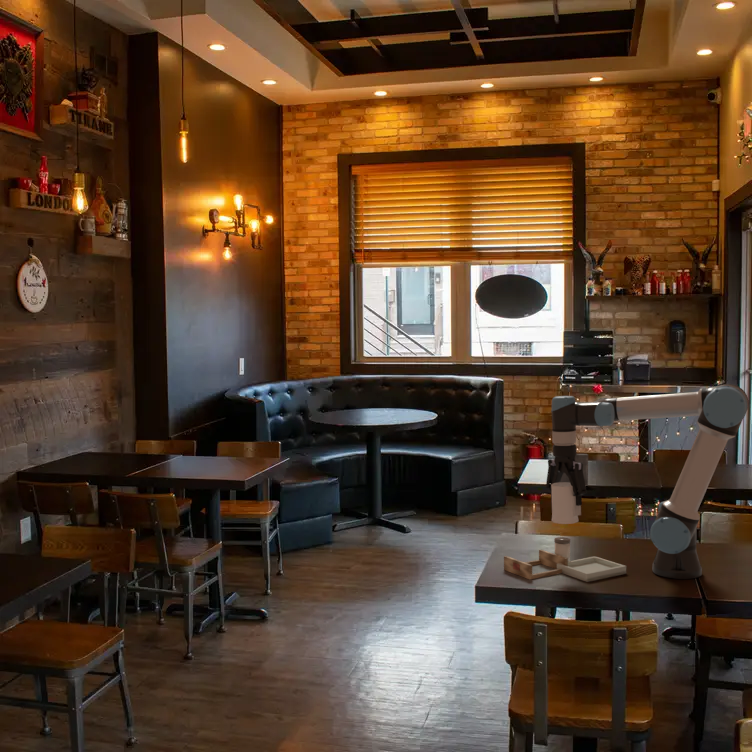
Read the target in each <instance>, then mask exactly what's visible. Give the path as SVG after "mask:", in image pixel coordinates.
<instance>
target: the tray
mask: <svg viewBox="0 0 752 752" xmlns="http://www.w3.org/2000/svg"><path fill="white" fill-rule="evenodd" d="M557 569H562V573H561V574H563V575H567V576H570V577H572V578H575V579H578V580H580V581H583V582H586V583H588V582H593V581H598V580H603V579H608V578H612V577H616V576H617V577H618V576H621V575H626V574H627V565H624V564H621V563H617V562H614V561H611V560H607V559H604V558H601V557H599V556H597V555H596V556H589V557H584V558H579V559H575V560H570V561H568V566H566V565H563V564H562V563H558V564H557Z"/></svg>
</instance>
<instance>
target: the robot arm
mask: <svg viewBox="0 0 752 752" xmlns="http://www.w3.org/2000/svg"><path fill="white" fill-rule="evenodd" d="M748 409H749V396H748V394H747V393H746V391H745V390H744V389H743V388H741V387H740V386H739V385H736V384H733V383H732V384H731V383H724V384H721V385H717V386H711V387H702V388H701V387H700V389H698V391H692V392H691V391H690V392H678V393H677V392H676V393H665V394H664V393H663V394H653V395H651V394H650V395H640V396H639V395H637V396H625V397H624V396H623V397H612V398H611V397H610V398H608V397H602V398H599V399H596V400H595V401H593V402H592V401H591V402H577V401H576V397H575V396H573V395H560V396H559V395H557V396H554V397H553V398H552V400H551V410H550V411H551V425H552V428H551V429H552V430H551V431H552V432H551V434H552V436H551V437H552V441H551V442H552V444H553V445H552V455H553V457H554V458H551V459H547V464H548V466H547V475H546V482H545V483H546V484H545V488H546V489H548V490H549V491H550V500H551V501H552V490H551V484H553V483H559V482H560V481H561V478H562V475H563V473H566V475H567V476H568V478H569V481H570V483H571V486H573V492H574V495H573V516H578V517H579V516H582V507H581V506H583V505H582V503H583V499H582V496H583V495H586V494H587V492H588V491H587V487H586V486H585V480H584V475H583V463H577V462H576V461H575V456H576V455H577V454H578V452H577V451H578V450H577V444H576V443H577V428H576V427H580V426H581V427H585V426H586V427H599V428H600V427H601V428H602V427H611V426H612V425H613V424H614V422H619V421H634V420H649V419H651V420H652V419H664V418H667V419H668V418H669V419H670V418H678V417H679V418H681V417H682V418H684V417H685V418H686V417H696V416H697V417H698V418H697V421H696V423H697V425H698V427H699V430H698V432H697V435H696V436H695V439H694V441H693V444H692V446H691V449H690V451H689V453H688V455H687V458H686V460H685V462H684V465H683V468H682V470H681V473H680V474H679V476H678V479H677V481H676V484H675V487H674V489H673V490H672V494H671V495H670V498H669V499H668V500H667V499H666V500H664V501H661V502H660V503H659V505H658V508H657V510H658V514H657V516H656V518H655V520H654V522H652V525H651V527H650V530H649V531H650V534H649V535H650V540H651V541H652V543H653V545H654V546H655V547H656V548H657V551H656V554H655V556H654V560H653V561H652V573H654V574H655V575H658V576H660V577H663V578H670V579H678V580H690V579H697V578H700V577H702V574H703V572H702V571H703V570H702V569H703V567H702V565H701V563H700V560H699V555H698V552H697V526H698V524H699V522H700V520H701V519H700V518H701V516H700V514H699V512H698V510H699V508H700V505H701V503H702V501H703V499H704V496H705V494H706V492H707V489H708V487H709V485H710V482H711V480H712V477H713V476H714V473H715V471H716V468H717V466H718V464H719V461H720V459H721V457H722V454H723V452H724V450H725V448H726V446H727V443H728V441H730V440H731V439H733V438H736V436H737V435H738V431H739V428H740V427H741V424H742V422H743V419H744V418H745V417H746V416H747V415H746V414H747V411H748Z"/></svg>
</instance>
